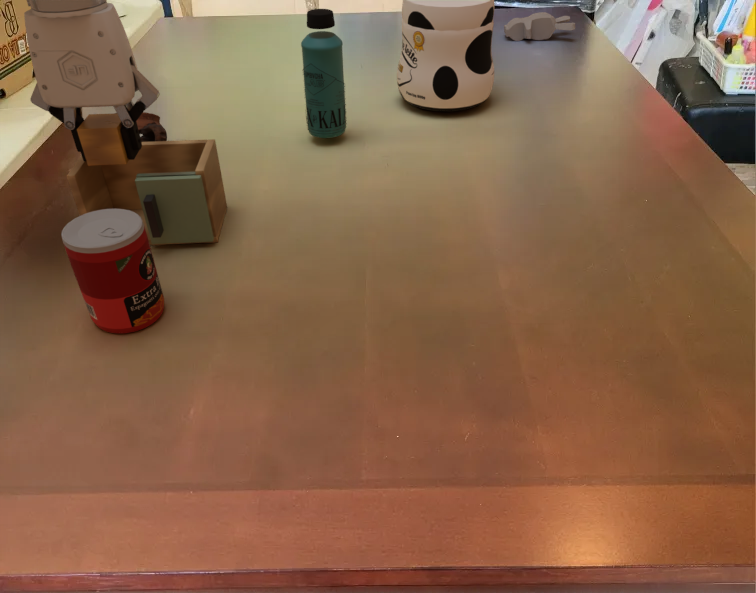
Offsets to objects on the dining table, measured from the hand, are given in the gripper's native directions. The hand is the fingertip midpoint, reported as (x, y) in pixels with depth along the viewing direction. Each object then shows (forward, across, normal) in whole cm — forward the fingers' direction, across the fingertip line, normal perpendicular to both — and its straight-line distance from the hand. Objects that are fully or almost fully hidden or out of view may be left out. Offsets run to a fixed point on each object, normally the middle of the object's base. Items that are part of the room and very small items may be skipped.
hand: (111, 154), depth 80 cm
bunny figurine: (+11, +72, +78) cm, 107 cm away
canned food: (+11, +4, -18) cm, 21 cm away
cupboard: (+11, +4, 0) cm, 11 cm away
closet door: (+10, +8, -6) cm, 14 cm away
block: (0, 0, 0) cm, 0 cm away
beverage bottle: (+11, +25, +26) cm, 38 cm away
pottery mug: (+11, -4, +22) cm, 25 cm away
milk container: (+11, +46, +42) cm, 63 cm away
